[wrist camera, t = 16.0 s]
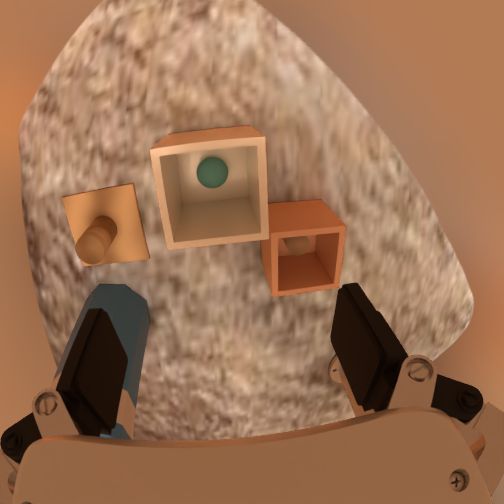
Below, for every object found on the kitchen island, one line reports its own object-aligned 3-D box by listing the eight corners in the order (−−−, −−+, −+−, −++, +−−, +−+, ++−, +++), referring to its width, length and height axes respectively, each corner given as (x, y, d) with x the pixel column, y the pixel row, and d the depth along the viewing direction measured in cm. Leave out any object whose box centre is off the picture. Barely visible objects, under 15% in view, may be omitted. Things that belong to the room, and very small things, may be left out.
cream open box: (249, 125, 27) (265, 136, 19) (253, 200, 31) (268, 239, 23) (168, 134, 26) (149, 149, 18) (178, 208, 30) (167, 250, 22)
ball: (226, 152, 27) (227, 158, 25) (228, 181, 29) (230, 190, 26) (195, 156, 27) (193, 162, 24) (199, 184, 29) (197, 194, 26)
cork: (302, 222, 32) (310, 234, 30) (301, 241, 33) (309, 254, 31) (281, 224, 32) (287, 236, 29) (281, 243, 33) (287, 256, 31)
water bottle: (143, 342, 39) (123, 508, 18) (84, 321, 36) (36, 481, 15) (159, 296, 35) (134, 497, 14) (91, 272, 32) (17, 458, 11)
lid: (134, 181, 28) (118, 200, 23) (150, 255, 33) (141, 284, 28) (64, 195, 28) (41, 215, 23) (85, 262, 32) (68, 290, 27)
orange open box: (320, 199, 32) (346, 225, 26) (317, 253, 35) (338, 287, 29) (258, 204, 31) (270, 233, 25) (261, 260, 35) (272, 297, 29)
